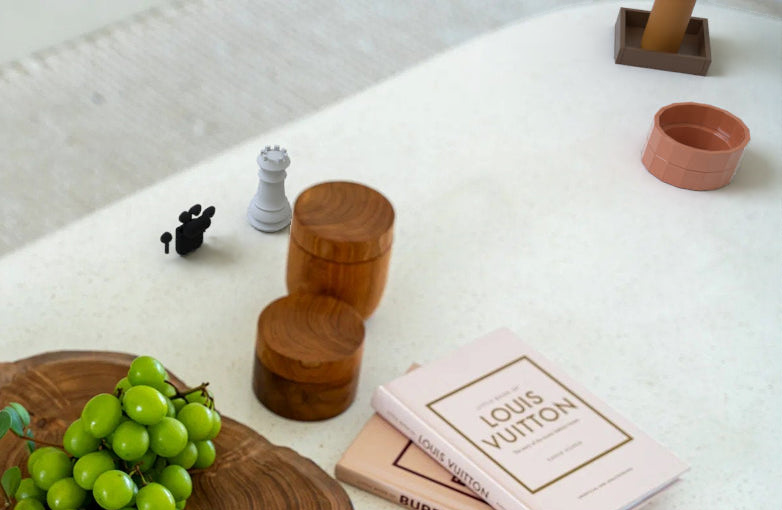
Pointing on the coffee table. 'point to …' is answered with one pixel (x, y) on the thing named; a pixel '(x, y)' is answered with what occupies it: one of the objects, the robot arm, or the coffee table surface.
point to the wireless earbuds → (189, 230)
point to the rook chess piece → (270, 192)
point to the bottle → (667, 25)
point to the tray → (687, 60)
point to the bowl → (695, 146)
